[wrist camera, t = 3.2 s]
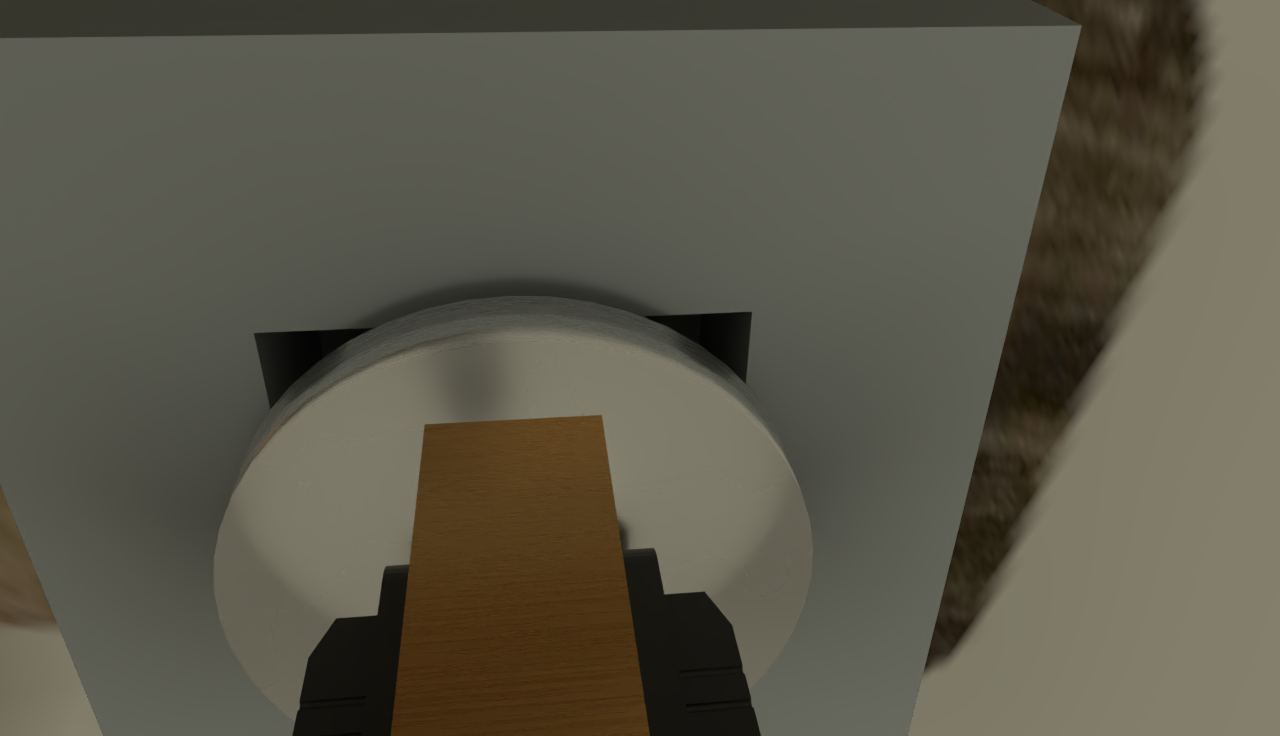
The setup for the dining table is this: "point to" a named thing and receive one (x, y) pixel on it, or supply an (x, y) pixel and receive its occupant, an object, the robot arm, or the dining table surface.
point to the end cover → (510, 513)
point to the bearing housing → (505, 273)
